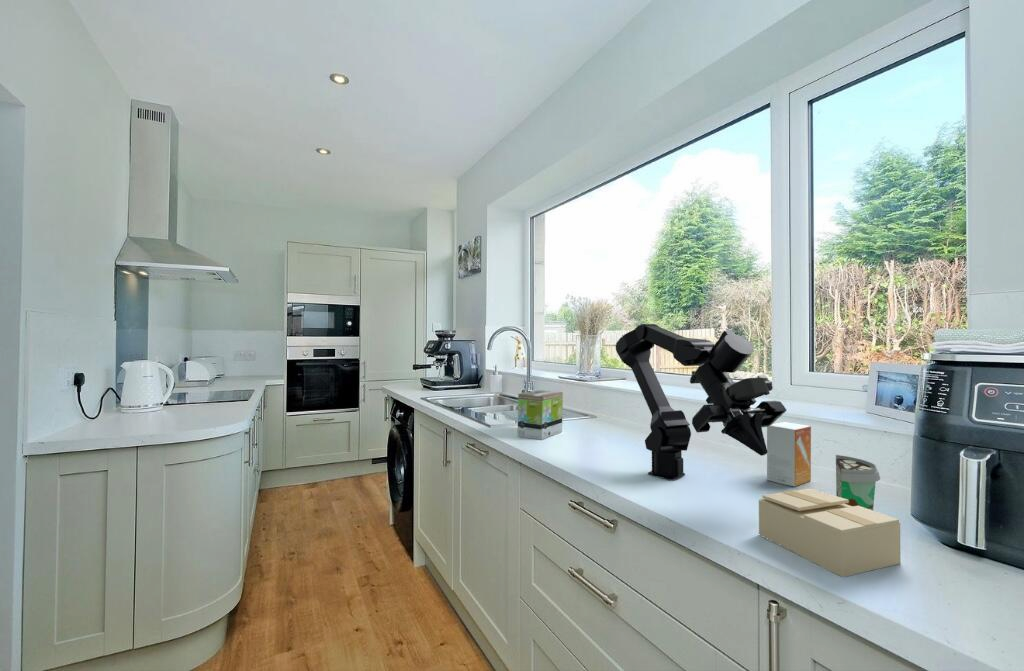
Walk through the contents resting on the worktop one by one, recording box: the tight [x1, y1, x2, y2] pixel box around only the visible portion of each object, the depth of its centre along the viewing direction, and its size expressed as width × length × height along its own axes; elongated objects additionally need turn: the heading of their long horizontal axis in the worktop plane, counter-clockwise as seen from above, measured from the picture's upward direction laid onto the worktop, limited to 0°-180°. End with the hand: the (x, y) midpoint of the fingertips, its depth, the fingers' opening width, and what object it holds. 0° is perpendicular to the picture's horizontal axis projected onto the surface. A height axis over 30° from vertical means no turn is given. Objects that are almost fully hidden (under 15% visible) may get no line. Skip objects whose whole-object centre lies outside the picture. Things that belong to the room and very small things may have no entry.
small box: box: [766, 421, 812, 488], centre depth 104 cm, size 8×6×13 cm
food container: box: [835, 454, 881, 511], centre depth 83 cm, size 12×6×10 cm, turn 148°
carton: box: [758, 498, 902, 578], centre depth 71 cm, size 14×12×7 cm
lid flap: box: [761, 488, 849, 511], centre depth 74 cm, size 7×11×1 cm, turn 108°
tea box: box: [517, 389, 564, 441], centre depth 155 cm, size 15×10×15 cm, turn 147°
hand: (764, 454), depth 82 cm, fingers closed
